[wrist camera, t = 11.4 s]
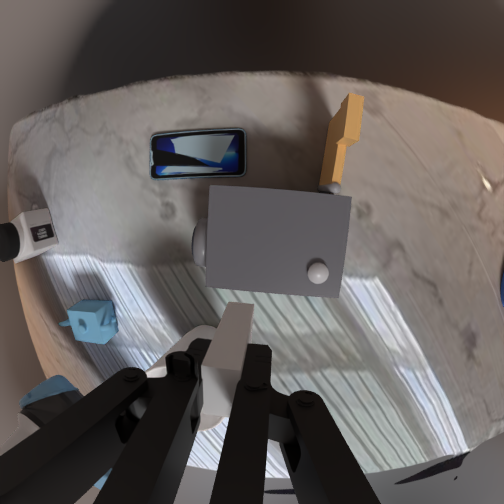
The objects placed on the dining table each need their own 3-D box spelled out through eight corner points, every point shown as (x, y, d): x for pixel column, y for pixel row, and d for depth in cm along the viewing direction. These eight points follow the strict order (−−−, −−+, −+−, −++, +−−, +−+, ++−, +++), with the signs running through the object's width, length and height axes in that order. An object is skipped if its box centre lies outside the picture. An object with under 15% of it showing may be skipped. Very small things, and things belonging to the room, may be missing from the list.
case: (205, 263, 44) (184, 286, 33) (208, 185, 41) (187, 184, 31) (325, 274, 42) (339, 299, 32) (334, 195, 40) (353, 196, 29)
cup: (182, 301, 45) (142, 350, 30) (251, 325, 45) (238, 387, 30) (169, 355, 48) (134, 411, 32) (230, 378, 48) (213, 442, 32)
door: (326, 122, 37) (349, 92, 24) (337, 125, 37) (364, 96, 24) (315, 191, 40) (334, 191, 26) (326, 193, 40) (350, 195, 26)
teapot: (81, 324, 49) (60, 340, 42) (74, 297, 48) (51, 310, 40) (127, 329, 48) (108, 348, 40) (120, 299, 47) (98, 315, 39)
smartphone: (246, 176, 40) (149, 180, 41) (246, 177, 41) (152, 180, 42) (246, 127, 38) (150, 134, 39) (246, 129, 39) (152, 135, 40)
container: (48, 207, 44) (1, 215, 31) (59, 243, 46) (12, 259, 33) (29, 221, 45) (-16, 231, 33) (39, 255, 47) (-5, 271, 34)
